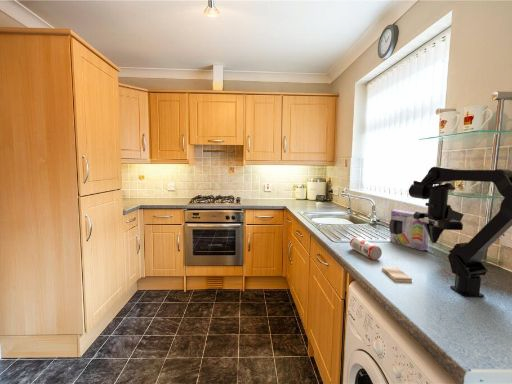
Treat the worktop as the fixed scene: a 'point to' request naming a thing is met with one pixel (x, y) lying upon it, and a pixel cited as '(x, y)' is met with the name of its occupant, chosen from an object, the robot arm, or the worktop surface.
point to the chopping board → (396, 274)
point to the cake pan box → (408, 230)
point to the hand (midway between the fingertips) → (433, 242)
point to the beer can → (366, 248)
